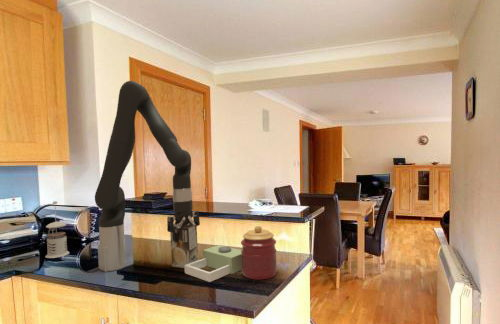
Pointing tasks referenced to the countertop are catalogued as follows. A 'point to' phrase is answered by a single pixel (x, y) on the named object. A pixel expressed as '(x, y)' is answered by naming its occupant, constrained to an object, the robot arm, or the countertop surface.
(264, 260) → the canister
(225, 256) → the dome button panel
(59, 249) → the french press
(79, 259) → the countertop surface
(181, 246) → the coffee box
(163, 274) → the countertop surface
